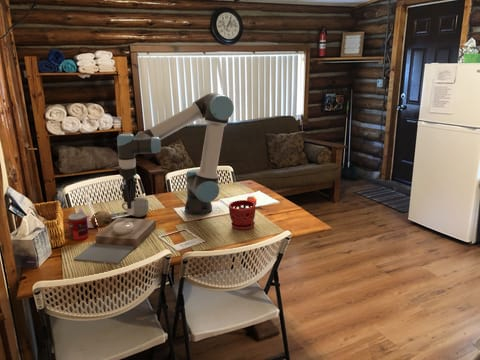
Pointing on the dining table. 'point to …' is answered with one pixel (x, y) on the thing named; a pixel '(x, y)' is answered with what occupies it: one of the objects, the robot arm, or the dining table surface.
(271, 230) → the dining table surface
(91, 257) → the mat
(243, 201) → the plant pot
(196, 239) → the photo frame
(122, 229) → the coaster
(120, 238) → the serving board
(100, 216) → the coconut
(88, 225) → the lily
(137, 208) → the teacup
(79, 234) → the canned food
